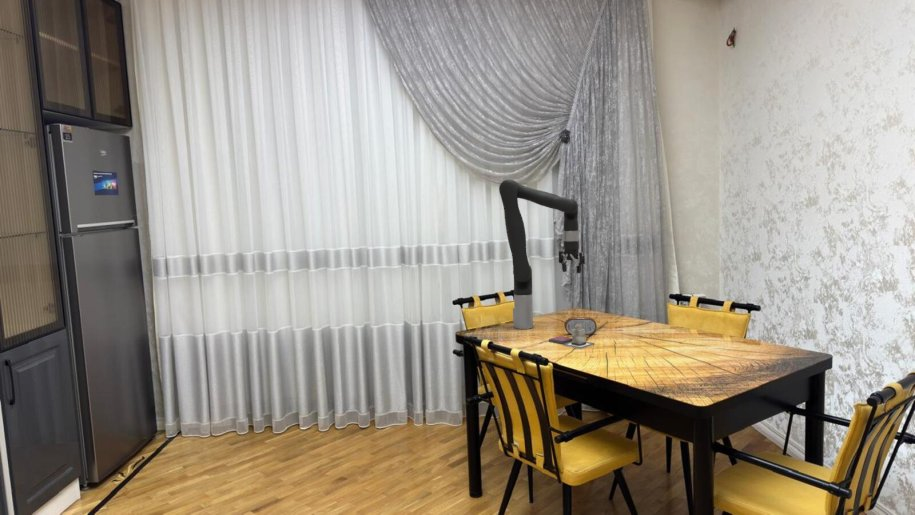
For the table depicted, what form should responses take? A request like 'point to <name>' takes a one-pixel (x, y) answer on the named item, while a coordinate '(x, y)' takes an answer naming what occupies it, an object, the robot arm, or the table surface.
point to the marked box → (579, 346)
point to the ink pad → (560, 340)
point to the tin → (585, 322)
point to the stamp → (578, 336)
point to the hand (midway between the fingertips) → (571, 272)
